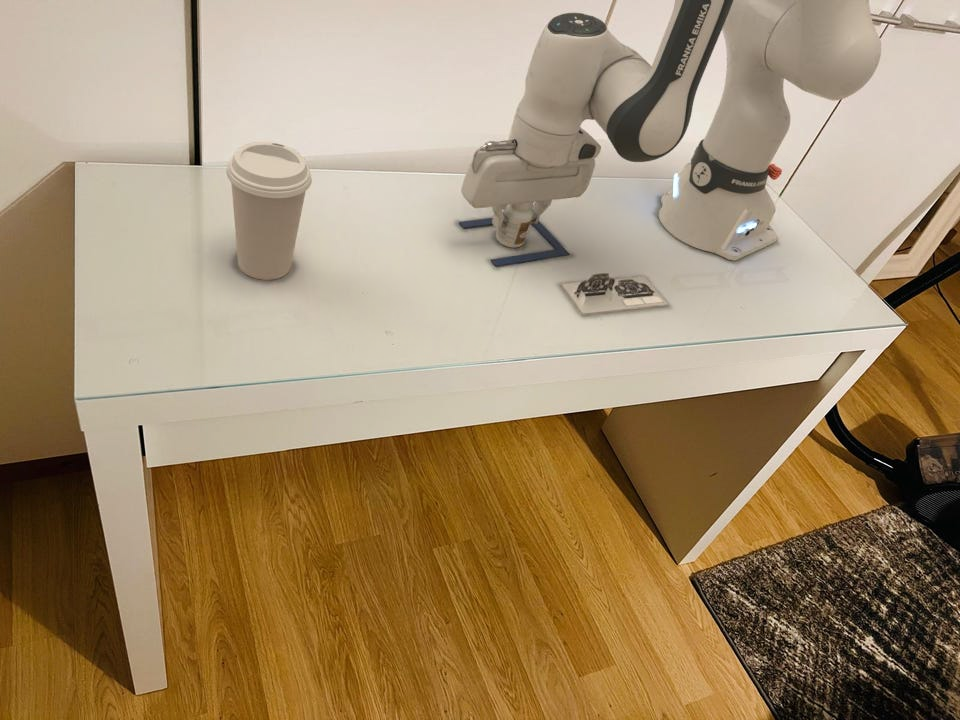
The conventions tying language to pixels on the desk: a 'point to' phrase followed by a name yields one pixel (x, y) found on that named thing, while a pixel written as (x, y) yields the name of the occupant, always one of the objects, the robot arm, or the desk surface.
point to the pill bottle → (515, 224)
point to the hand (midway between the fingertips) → (514, 223)
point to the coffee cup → (267, 206)
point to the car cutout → (612, 294)
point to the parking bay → (522, 258)
